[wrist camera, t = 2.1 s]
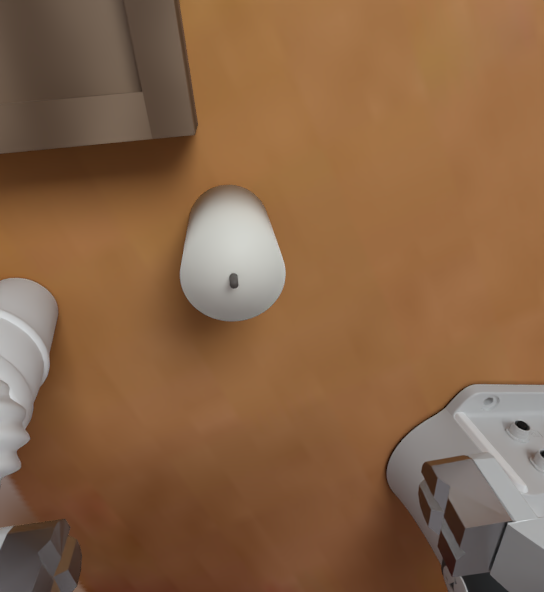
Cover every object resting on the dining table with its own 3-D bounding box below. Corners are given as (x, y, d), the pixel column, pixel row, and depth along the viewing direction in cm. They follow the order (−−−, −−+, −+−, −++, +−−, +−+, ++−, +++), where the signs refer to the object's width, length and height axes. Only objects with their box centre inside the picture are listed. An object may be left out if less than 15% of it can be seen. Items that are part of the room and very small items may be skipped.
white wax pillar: (265, 180, 25) (284, 226, 18) (271, 255, 28) (290, 323, 20) (182, 189, 25) (168, 240, 18) (196, 264, 27) (188, 336, 20)
